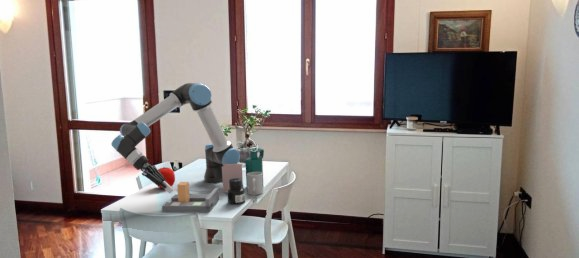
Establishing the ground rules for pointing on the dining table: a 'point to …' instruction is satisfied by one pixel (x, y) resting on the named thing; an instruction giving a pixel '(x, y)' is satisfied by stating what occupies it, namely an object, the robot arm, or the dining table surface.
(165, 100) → the robot arm
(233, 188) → the ink bottle
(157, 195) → the dining table surface
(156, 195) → the dining table surface
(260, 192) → the mug
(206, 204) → the breaker housing
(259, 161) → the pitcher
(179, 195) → the lever
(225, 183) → the greeting card
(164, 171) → the tomato
